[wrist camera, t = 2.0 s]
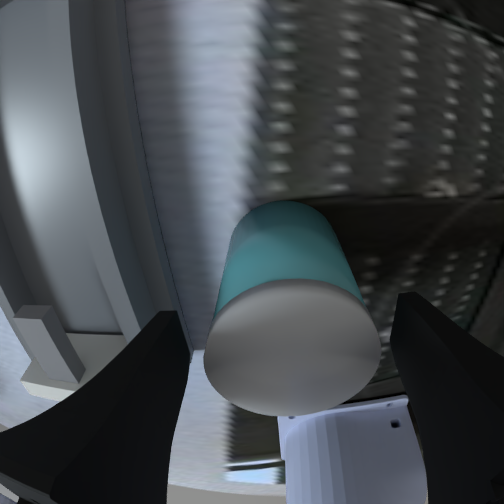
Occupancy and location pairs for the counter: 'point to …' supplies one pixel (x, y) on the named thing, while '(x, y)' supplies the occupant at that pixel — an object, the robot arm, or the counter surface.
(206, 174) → the counter surface
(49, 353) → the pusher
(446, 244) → the counter surface
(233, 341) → the jar
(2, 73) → the lane
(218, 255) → the counter surface
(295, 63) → the counter surface
